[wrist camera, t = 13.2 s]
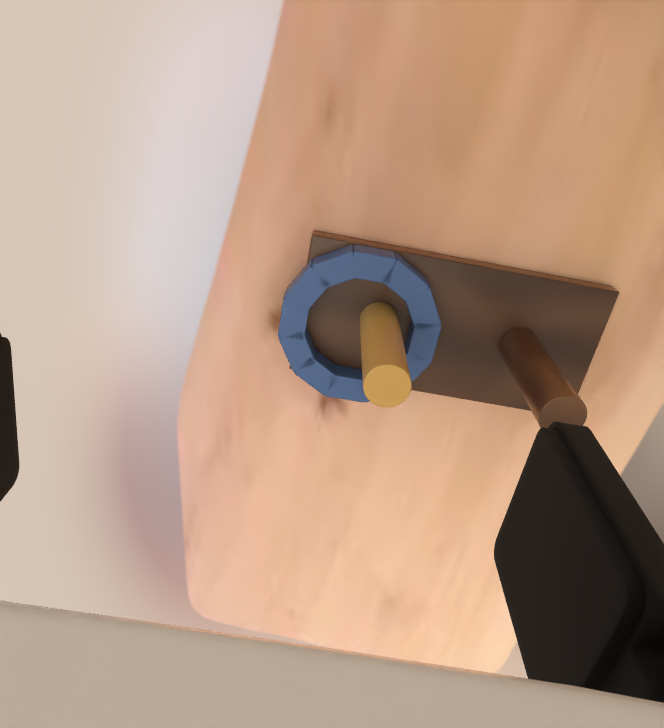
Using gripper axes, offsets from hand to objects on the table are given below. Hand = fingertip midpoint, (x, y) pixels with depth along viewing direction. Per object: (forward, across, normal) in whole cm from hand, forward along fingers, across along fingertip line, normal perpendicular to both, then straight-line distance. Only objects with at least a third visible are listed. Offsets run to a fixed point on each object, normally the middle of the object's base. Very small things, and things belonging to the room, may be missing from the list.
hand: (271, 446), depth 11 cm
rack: (+28, -9, +8) cm, 30 cm away
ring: (+26, -3, +8) cm, 28 cm away
